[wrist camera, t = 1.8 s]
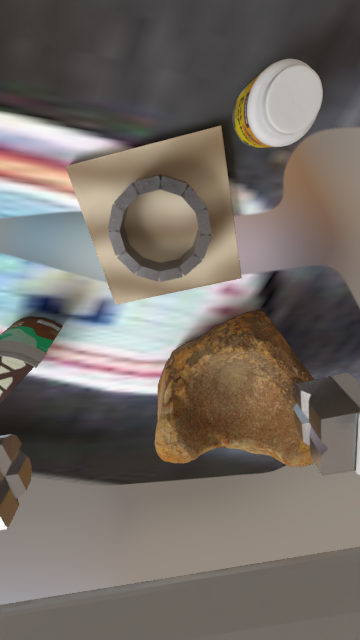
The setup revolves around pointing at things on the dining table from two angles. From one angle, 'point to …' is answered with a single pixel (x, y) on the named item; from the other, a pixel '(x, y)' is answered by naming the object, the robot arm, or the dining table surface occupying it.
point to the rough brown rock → (232, 394)
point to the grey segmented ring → (151, 267)
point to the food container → (23, 349)
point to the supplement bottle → (278, 105)
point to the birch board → (161, 212)
